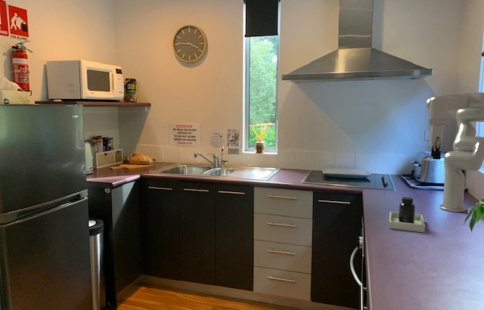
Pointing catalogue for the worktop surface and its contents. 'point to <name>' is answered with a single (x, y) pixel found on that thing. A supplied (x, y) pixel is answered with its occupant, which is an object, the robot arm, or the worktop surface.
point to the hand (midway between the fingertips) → (435, 158)
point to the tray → (396, 224)
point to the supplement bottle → (407, 210)
